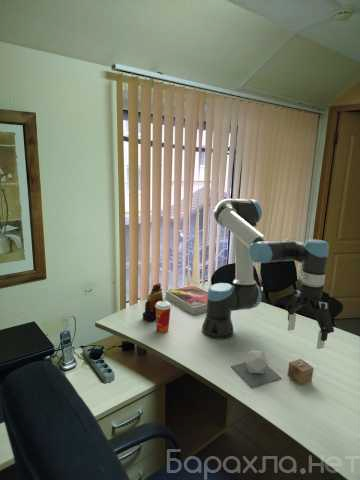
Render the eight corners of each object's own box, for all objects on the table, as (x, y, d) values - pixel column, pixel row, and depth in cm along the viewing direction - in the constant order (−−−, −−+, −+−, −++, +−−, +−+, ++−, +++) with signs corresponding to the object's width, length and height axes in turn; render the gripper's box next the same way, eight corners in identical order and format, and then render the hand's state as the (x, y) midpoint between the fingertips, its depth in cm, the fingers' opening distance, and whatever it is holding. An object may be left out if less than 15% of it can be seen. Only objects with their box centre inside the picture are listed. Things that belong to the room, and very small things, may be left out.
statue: (156, 312, 163) (157, 278, 159) (164, 318, 157) (165, 282, 153) (137, 318, 155) (137, 282, 151) (145, 324, 149) (146, 287, 146)
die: (261, 383, 109) (275, 360, 110) (241, 369, 110) (255, 346, 111) (256, 376, 117) (269, 355, 118) (238, 363, 118) (251, 343, 120)
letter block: (287, 376, 114) (289, 361, 113) (299, 372, 116) (300, 358, 115) (299, 386, 109) (301, 371, 107) (311, 381, 111) (313, 367, 110)
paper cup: (154, 326, 148) (155, 300, 145) (170, 326, 148) (170, 300, 146) (154, 334, 140) (155, 307, 137) (170, 334, 141) (171, 307, 138)
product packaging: (193, 315, 162) (194, 307, 161) (165, 298, 185) (165, 290, 184) (222, 307, 175) (223, 299, 174) (193, 291, 197) (193, 284, 196)
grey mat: (230, 367, 118) (230, 366, 118) (259, 359, 124) (259, 358, 123) (251, 388, 106) (251, 386, 106) (281, 378, 112) (281, 377, 112)
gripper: (278, 273, 114) (273, 324, 119) (335, 297, 92) (326, 359, 96) (293, 272, 118) (287, 321, 122) (351, 294, 95) (342, 354, 100)
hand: (304, 338), depth 109 cm, fingers open, 13 cm apart
